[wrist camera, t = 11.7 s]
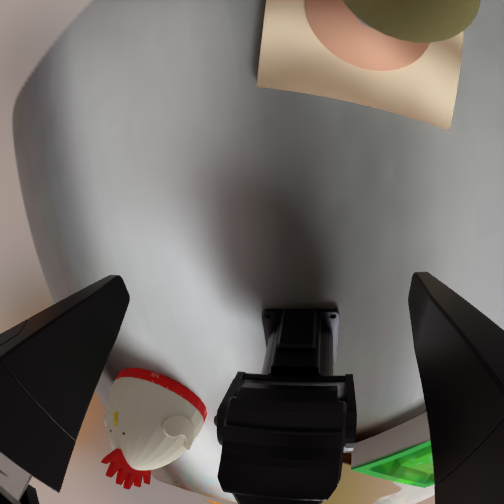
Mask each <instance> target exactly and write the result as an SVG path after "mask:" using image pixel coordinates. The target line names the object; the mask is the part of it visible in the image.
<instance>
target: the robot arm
mask: <svg viewBox="0 0 504 504" xmlns="http://www.w3.org/2000/svg"><path fill="white" fill-rule="evenodd" d="M129 301H130V297H129V293H128V291H127V288H126V286H125V283H124V281H123V279H122V277H121V276H119V275H109V276H107V277H105V278H103V279H101V280H99V281H97V282H95V283H93V284H91V285H90V286H88V287H86V288H84V289H82V290H80V291H78V292H76V293H74V294H73V295H71V296H69V297H67V298H65V299H63V300H61V301H59V302H58V303H56V304H54V305H52V306H50V307H48V308H47V309H45V310H43V311H41V312H39V313H38V314H36V315H34V316H32V317H30V318H29V319H27V320H25V321H23V322H21V323H20V324H18V325H16V326H14V327H12V328H11V329H9V330H7V331H5V332H3V333H1V334H0V504H39V501H38V497H37V493H36V489H35V488H33V487H32V486H31V485H29V482H30V480H31V478H32V476H33V477H35V478H36V479H38V480H39V481H41V482H42V483H44V484H45V485H47V486H48V487H50V488H52V489H53V490H55V491H57V492H58V493H59V492H60V490H61V487H62V483H63V480H64V477H65V473H66V470H67V467H68V464H69V461H70V457H71V454H72V451H73V449H74V446H75V443H76V442H75V441H76V439H77V436H78V433H79V431H80V428H81V425H82V422H83V420H84V417H85V414H86V411H87V409H88V406H89V404H90V401H91V399H92V396H93V394H94V391H95V388H96V386H97V384H98V381H99V379H100V376H101V374H102V371H103V369H104V367H105V364H106V362H107V360H108V357H109V355H110V353H111V350H112V348H113V346H114V343H115V341H116V339H117V336H118V333H119V330H120V327H121V324H122V321H123V319H124V316H125V313H126V310H127V307H128V304H129ZM408 304H409V311H410V318H411V325H412V333H413V341H414V349H415V354H416V359H417V364H418V368H419V373H420V378H421V383H422V388H423V394H424V400H425V405H426V412H427V418H428V425H429V432H430V440H431V449H432V459H433V470H434V484H435V504H504V330H503V329H501V328H500V327H499V326H498V325H497V324H495V323H494V322H493V321H492V320H490V319H489V318H488V317H487V316H485V315H484V314H483V313H482V312H480V311H479V310H478V309H476V308H475V307H474V306H473V305H471V304H470V303H469V302H467V301H466V300H465V299H464V298H462V297H461V296H460V295H458V294H457V293H456V292H454V291H453V290H452V289H450V288H449V287H447V286H446V285H445V284H443V283H442V282H441V281H439V280H438V279H437V278H435V277H434V276H432V275H431V274H430V273H428V272H415V273H414V274H413V276H412V281H411V286H410V291H409V297H408ZM266 314H269V316H268V315H266ZM332 314H335V315H332ZM262 320H263V327H264V333H265V340H266V346H267V350H266V355H265V360H264V365H263V369H262V374H250V373H245V372H238V373H237V375H236V377H235V379H233V381H232V383H231V385H230V387H229V389H228V391H227V393H226V395H225V397H224V399H223V401H222V402H221V404H220V406H219V408H218V411H217V415H216V416H215V418H214V424H215V425H216V426H217V438H218V441H219V444H220V445H222V454H221V460H220V466H219V471H218V480H219V482H220V485H221V488H222V490H223V491H224V492H228V493H232V494H233V495H234V497H235V499H236V501H237V502H238V504H321V503H322V501H326V500H328V498H329V497H330V496H331V494H332V493H333V492H334V490H335V489H336V487H337V484H338V483H339V481H340V478H341V470H342V462H343V453H352V451H353V448H354V444H355V436H356V423H357V411H356V400H355V391H354V382H353V374H345V376H333V362H334V361H335V360H336V354H337V341H338V327H339V311H338V310H336V309H265V310H264V311H263V313H262Z"/></svg>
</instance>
